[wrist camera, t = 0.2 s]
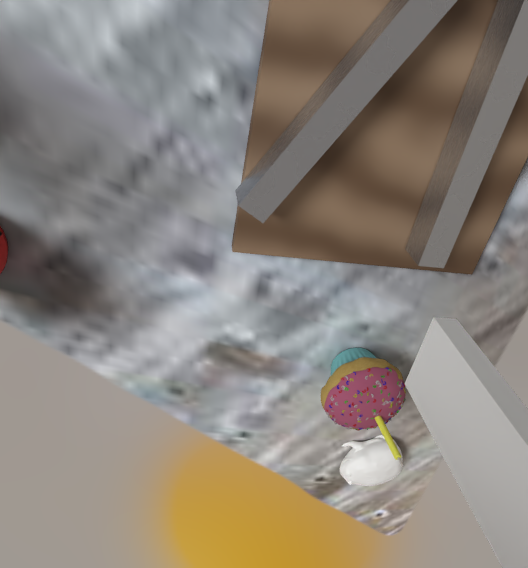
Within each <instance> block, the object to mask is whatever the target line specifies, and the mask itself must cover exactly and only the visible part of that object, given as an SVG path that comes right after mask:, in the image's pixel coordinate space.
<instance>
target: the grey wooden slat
mask: <svg viewBox="0 0 528 568" xmlns="http://www.w3.org/2000/svg"><path fill="white" fill-rule="evenodd" d="M456 2H457V0H390V2H389V3H388V4H387V5H386V7H385V8H384V9H383V10H382V12H381V13H380V14H379V15H378V16H377V18H376V19H375V20H374V21H373V23H372V24H371V25H370V26H369V27H368V29H367V30H366V31H365V32H364V34H363V35H362V36H361V37H360V38H359V40H358V41H357V42H356V43H355V45H354V46H353V47H352V48H351V50H350V51H349V52H348V53H347V54H346V56H345V57H344V58H343V59H342V61H341V62H340V63H339V64H338V65H337V67H336V68H335V69H334V70H333V72H332V73H331V74H330V75H329V77H328V78H327V79H326V80H325V81H324V83H323V84H322V85H321V86H320V88H319V89H318V90H317V91H316V92H315V94H314V95H313V96H312V97H311V99H310V100H309V101H308V102H307V103H306V105H305V106H304V107H303V108H302V110H301V111H300V112H299V113H298V115H297V116H296V117H295V118H294V119H293V121H292V122H291V123H290V124H289V126H288V127H287V128H286V129H285V130H284V132H283V133H282V134H281V135H280V137H279V138H278V139H277V140H276V142H275V143H274V144H273V145H272V146H271V148H270V149H269V150H268V151H267V153H266V154H265V155H264V156H263V157H262V159H261V160H260V161H259V162H258V164H257V165H256V166H255V167H254V169H253V170H252V171H251V172H250V173H249V175H248V176H247V177H246V178H245V180H244V181H243V182H242V183H241V184H240V186H239V187H238V188H237V189H236V196H237V201H238V206H239V207H241V208H242V209H244V210H245V211H246V212H248V213H249V214H251V215H252V216H253V217H255V218H256V219H258V220H259V221H260V222H262V223H264V222H265V221H266V220H267V219H268V217H269V216H270V215H271V214H272V213H273V212H274V210H275V209H276V208H277V207H278V206H279V205H280V204H281V202H282V201H283V200H284V199H285V198H286V197H287V196H288V194H289V193H290V192H291V191H292V190H293V189H294V188H295V186H296V185H297V184H298V183H299V182H300V181H301V179H302V178H303V177H304V176H305V175H306V174H307V173H308V171H309V170H310V169H311V168H312V167H313V166H314V165H315V163H316V162H317V161H318V160H319V159H320V158H321V157H322V155H323V154H324V153H325V152H326V151H327V150H328V149H329V147H330V146H331V145H332V144H333V143H334V142H335V140H336V139H337V138H338V137H339V136H340V135H341V134H342V132H343V131H344V130H345V129H346V128H347V127H348V126H349V124H350V123H351V122H352V121H353V120H354V119H355V118H356V116H357V115H358V114H359V113H360V112H361V111H362V109H363V108H364V107H365V106H366V105H367V104H368V103H369V101H370V100H371V99H372V98H373V97H374V96H375V95H376V93H377V92H378V91H379V90H380V89H381V88H382V87H383V85H384V84H385V83H386V82H387V81H388V80H389V79H390V77H391V76H392V75H393V74H394V73H395V72H396V70H397V69H398V68H399V67H400V66H401V65H402V64H403V62H404V61H405V60H406V59H407V58H408V57H409V56H410V54H411V53H412V52H413V51H414V50H415V49H416V48H417V46H418V45H419V44H420V43H421V42H422V41H423V40H424V38H425V37H426V36H427V35H428V34H429V33H430V31H431V30H432V29H433V28H434V27H435V26H436V25H437V23H438V22H439V21H440V20H441V19H442V18H443V17H444V15H445V14H446V13H447V12H448V11H449V10H450V9H451V7H452V6H453V5H454V4H455V3H456Z"/></svg>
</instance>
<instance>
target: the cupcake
mask: <svg viewBox="0 0 528 568" xmlns="http://www.w3.org/2000/svg"><path fill="white" fill-rule="evenodd" d="M405 393H406V392H405V384H404V381H403V377H402V374H401V372H400V371H399V370H398V369H397V368H396V367H395V366H393V365H392V364H390V363H388V362H387V361H386V360H384V359H377V358H376V357H375V356H374V355H373V354H372V353H371V352H370V351H368V350H366V349H363V348H351V349H347V350H345V351H343V352H341V353H340V354H338V355H337V356H336V357H335V359H334V360H333V362H332V365H331V376H330V377H329V379H328V381H327V383H326V385H325V386H324V387H323V388H322V390H321V403H322V406H323V408H324V410H325V412H326V414H327V415H328V417H329V418H331V419H332V420H333V421H334V424H337V423H338V424H339V425H342V426H344V427H346V428H347V429H356V430H360V429H367V430H368V429H369V428H376V427H377V426H379V428H380V430H381V432H382V434H383V436H384V438H385V440H386V442H387V444H388V446H389V448H390V450H391V452H392V454H393V456H394V458H395V460H399V462H400V464H401V466H402V467H404V465H403V463H402V461H401V459H400V458H401V454H400V452H399V450H398V448H397V446H396V445H395V443H394V441H393V439H392V437H391V435H390V433H389V431H388V429H387V427H386V425H385V424H386V423H387V422H388V421H389V420H390V421H391V418H392V417H394V416H395V415H396V414H395V413H398V412H399V410H400V409H401V408H402V406H403V402H404V401H405V400H406V399H405Z"/></svg>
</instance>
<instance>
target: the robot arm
mask: <svg viewBox="0 0 528 568" xmlns="http://www.w3.org/2000/svg"><path fill="white" fill-rule="evenodd" d="M405 386H406V388H407V390H408V392H409V393H410V395H411V397H412V399H413V401H414V403H415V405H416V407H417V409H418V410H419V412H420V414H421V416H422V418H423V420H424V422H425V424H426V425H427V427H428V429H429V431H430V433H431V435H432V437H433V439H434V441H435V442H436V444H437V446H438V448H439V450H440V452H441V454H442V456H443V457H444V459H445V461H446V463H447V465H448V467H449V469H450V471H451V472H452V474H453V476H454V478H455V480H456V482H457V484H458V486H459V488H460V489H461V491H462V493H463V495H464V497H465V499H466V501H467V503H468V504H469V506H470V508H471V510H472V512H473V514H474V516H475V518H476V519H477V522H478V523H479V525H480V527H481V529H482V531H483V533H484V535H485V537H486V538H487V540H488V542H489V544H490V546H491V548H492V550H493V552H494V553H495V555H496V557H497V559H498V561H499V563H500V565H501V567H502V568H528V408H527V407H526V406H525V405H524V403H523V402H522V401H521V400H520V398H519V397H518V396H517V394H516V393H515V392H514V391H513V390H512V388H511V387H510V386H509V384H508V383H507V382H506V381H505V379H504V378H503V377H502V376H501V374H500V373H499V372H498V371H497V370H496V368H495V367H494V365H493V364H492V363H491V362H490V360H489V359H488V358H487V357H486V355H485V354H484V353H483V352H482V350H481V349H480V348H479V347H478V345H477V344H476V343H475V342H474V340H473V339H472V338H471V337H470V335H469V334H468V333H467V331H466V330H465V329H464V328H463V326H462V325H461V324H460V323H459V321H458V320H457V319H454V318H440V317H433V320H432V322H431V324H430V327H429V329H428V331H427V333H426V336H425V338H424V340H423V343H422V345H421V347H420V350H419V352H418V354H417V356H416V359H415V361H414V363H413V366H412V368H411V370H410V372H409V375H408V377H407V379H406V382H405Z"/></svg>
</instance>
